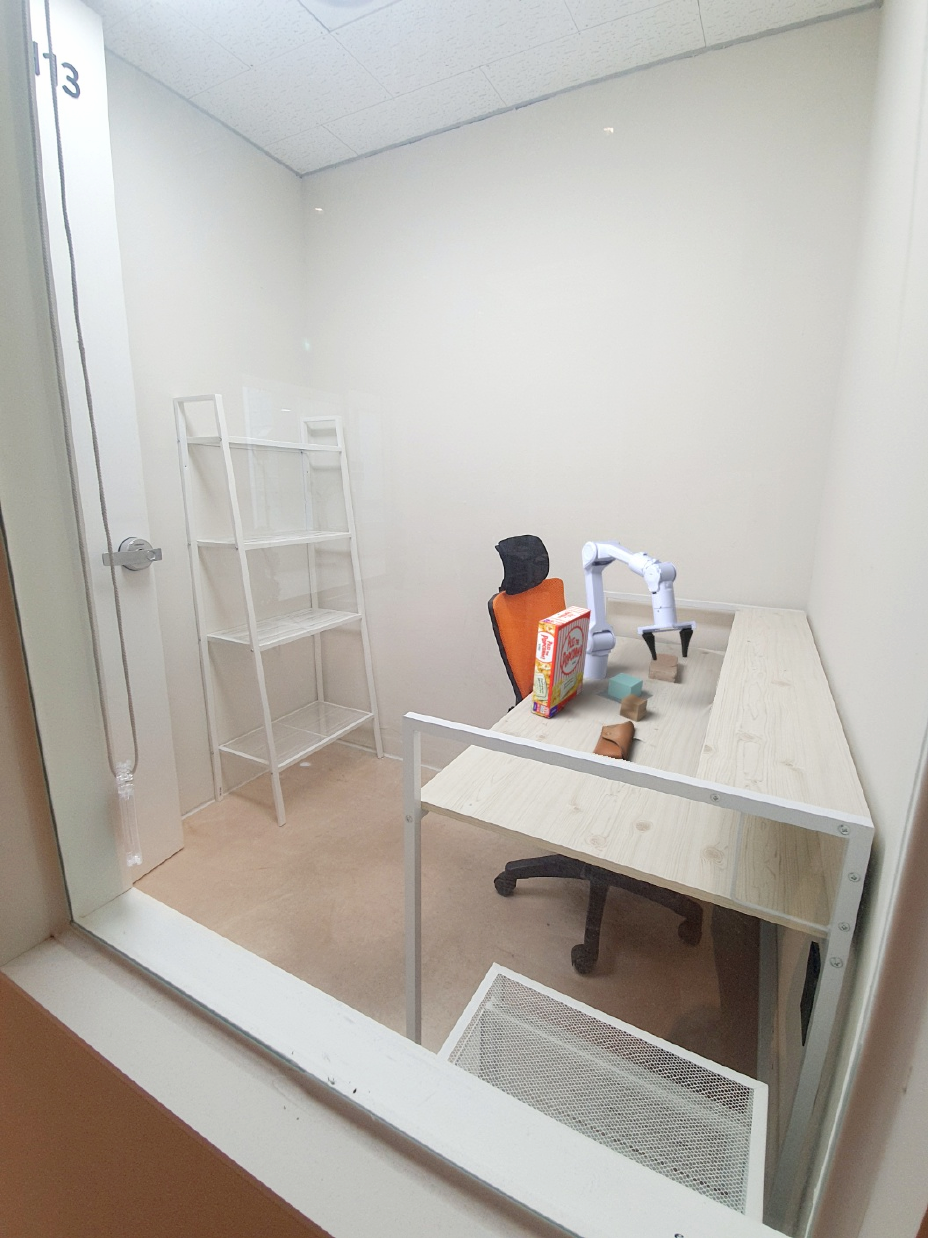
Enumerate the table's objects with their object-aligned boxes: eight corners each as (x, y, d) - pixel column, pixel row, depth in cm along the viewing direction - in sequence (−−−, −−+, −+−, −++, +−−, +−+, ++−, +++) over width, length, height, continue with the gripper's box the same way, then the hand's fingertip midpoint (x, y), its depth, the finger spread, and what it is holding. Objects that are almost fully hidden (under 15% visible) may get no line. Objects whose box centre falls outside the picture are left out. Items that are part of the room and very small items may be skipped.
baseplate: (595, 697, 159) (596, 694, 159) (616, 685, 167) (616, 682, 167) (632, 711, 151) (632, 708, 151) (652, 698, 159) (652, 695, 159)
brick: (674, 686, 168) (677, 673, 167) (647, 682, 171) (649, 668, 170) (676, 668, 183) (678, 655, 182) (650, 663, 186) (652, 651, 185)
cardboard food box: (549, 719, 145) (557, 626, 137) (529, 712, 149) (536, 621, 140) (582, 694, 161) (591, 608, 152) (563, 688, 165) (571, 604, 156)
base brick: (607, 694, 159) (609, 679, 157) (619, 687, 164) (621, 672, 162) (629, 702, 154) (631, 686, 153) (640, 695, 159) (643, 679, 158)
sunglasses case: (601, 724, 143) (616, 708, 140) (622, 741, 142) (638, 725, 139) (589, 759, 128) (606, 741, 125) (613, 778, 127) (631, 760, 124)
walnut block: (619, 718, 147) (621, 699, 145) (628, 712, 151) (630, 693, 149) (635, 725, 144) (638, 705, 142) (644, 719, 147) (647, 699, 145)
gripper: (638, 611, 139) (644, 662, 139) (696, 604, 136) (702, 657, 136) (634, 611, 146) (639, 660, 146) (689, 604, 143) (695, 654, 143)
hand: (669, 658), depth 142 cm, fingers open, 7 cm apart
